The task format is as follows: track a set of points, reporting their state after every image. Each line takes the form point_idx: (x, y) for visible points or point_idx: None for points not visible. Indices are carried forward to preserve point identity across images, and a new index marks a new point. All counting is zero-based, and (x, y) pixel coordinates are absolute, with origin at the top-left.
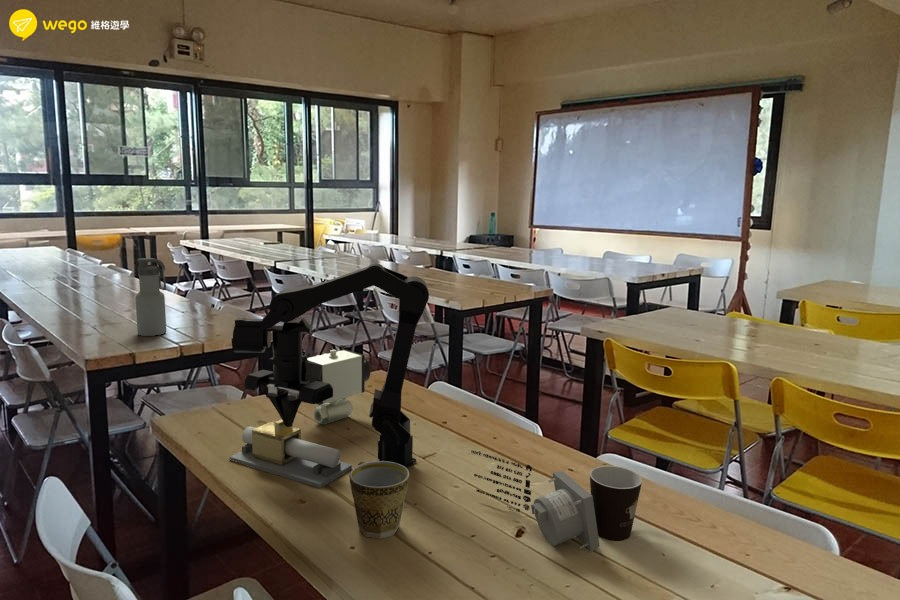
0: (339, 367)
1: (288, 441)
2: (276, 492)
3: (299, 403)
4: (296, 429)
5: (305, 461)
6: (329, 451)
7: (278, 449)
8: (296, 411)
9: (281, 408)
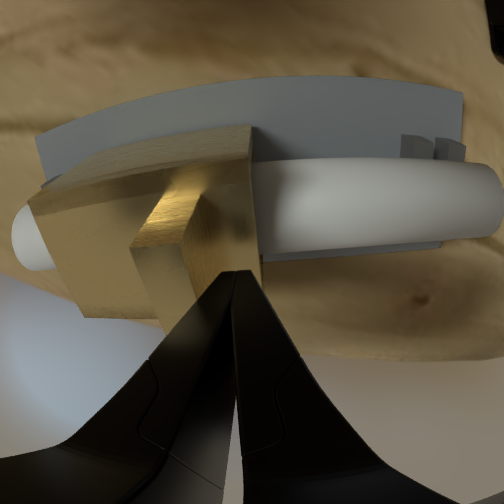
0: None
1: (263, 251)
2: (347, 309)
3: (353, 447)
4: (233, 187)
5: (307, 150)
6: (488, 230)
7: None
8: (297, 360)
9: (225, 459)
